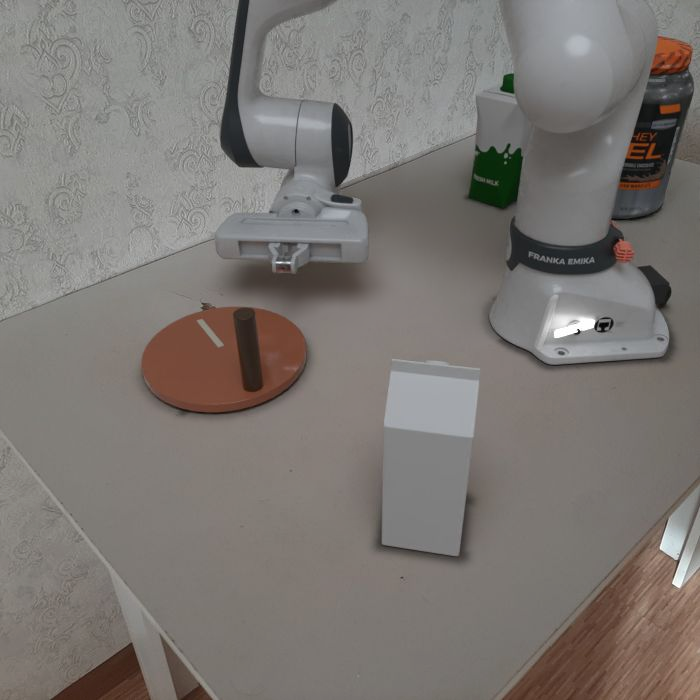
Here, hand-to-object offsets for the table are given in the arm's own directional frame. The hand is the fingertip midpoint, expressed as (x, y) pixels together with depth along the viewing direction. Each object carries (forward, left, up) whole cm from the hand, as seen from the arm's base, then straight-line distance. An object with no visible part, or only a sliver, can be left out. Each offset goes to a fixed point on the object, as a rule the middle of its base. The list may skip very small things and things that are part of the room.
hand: (283, 268), depth 88 cm
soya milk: (-29, -44, -10) cm, 54 cm away
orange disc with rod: (+7, +7, -9) cm, 14 cm away
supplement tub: (-49, -43, -10) cm, 66 cm away
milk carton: (-18, +30, -10) cm, 37 cm away
